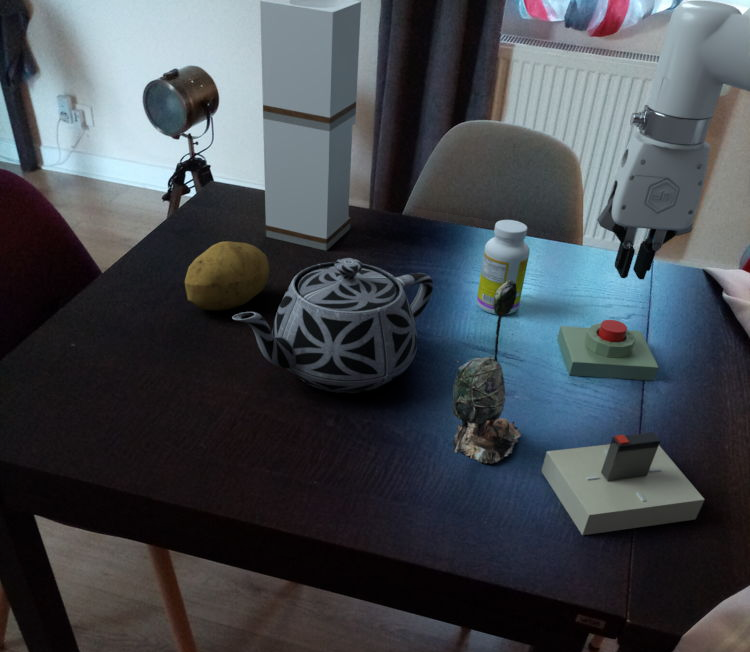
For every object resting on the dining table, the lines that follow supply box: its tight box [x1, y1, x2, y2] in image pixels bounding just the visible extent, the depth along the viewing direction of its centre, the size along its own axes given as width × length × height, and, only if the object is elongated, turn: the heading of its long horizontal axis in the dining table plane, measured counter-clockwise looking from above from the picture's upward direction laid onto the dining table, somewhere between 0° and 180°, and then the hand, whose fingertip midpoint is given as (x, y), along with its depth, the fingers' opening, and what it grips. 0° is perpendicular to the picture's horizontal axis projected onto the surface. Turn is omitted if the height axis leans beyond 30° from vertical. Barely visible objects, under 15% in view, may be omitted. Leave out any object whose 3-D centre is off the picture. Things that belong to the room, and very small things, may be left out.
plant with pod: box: [451, 280, 522, 464], centre depth 88 cm, size 8×11×20 cm
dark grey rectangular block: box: [601, 431, 661, 481], centre depth 86 cm, size 5×2×5 cm, turn 105°
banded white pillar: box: [259, 0, 362, 252], centre depth 127 cm, size 11×11×35 cm
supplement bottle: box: [476, 219, 530, 315], centre depth 118 cm, size 7×7×13 cm
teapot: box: [231, 257, 434, 394], centre depth 100 cm, size 19×31×15 cm, turn 127°
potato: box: [184, 240, 270, 312], centre depth 114 cm, size 10×13×9 cm
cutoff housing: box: [556, 322, 659, 382], centre depth 111 cm, size 12×10×4 cm
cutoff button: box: [598, 319, 628, 343], centre depth 109 cm, size 4×4×2 cm
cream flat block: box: [541, 443, 705, 536], centre depth 88 cm, size 14×11×3 cm
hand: (630, 273), depth 103 cm, fingers closed
